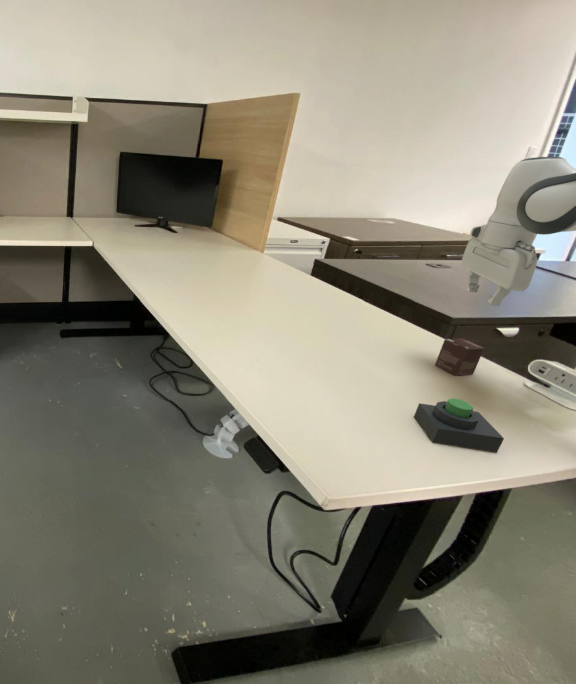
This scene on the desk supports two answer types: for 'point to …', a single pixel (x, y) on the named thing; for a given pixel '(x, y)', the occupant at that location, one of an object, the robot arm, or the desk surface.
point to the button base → (457, 428)
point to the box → (459, 356)
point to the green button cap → (458, 408)
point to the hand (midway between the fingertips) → (481, 297)
